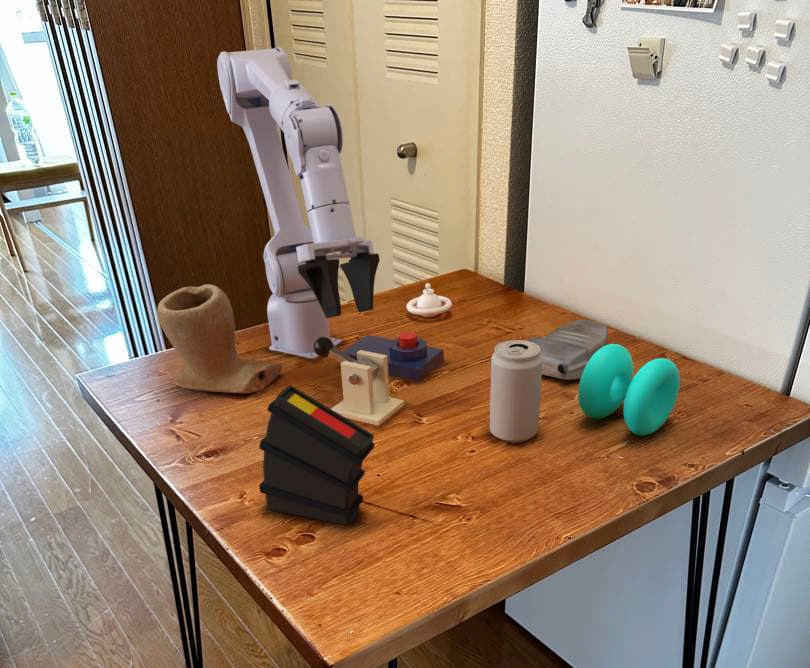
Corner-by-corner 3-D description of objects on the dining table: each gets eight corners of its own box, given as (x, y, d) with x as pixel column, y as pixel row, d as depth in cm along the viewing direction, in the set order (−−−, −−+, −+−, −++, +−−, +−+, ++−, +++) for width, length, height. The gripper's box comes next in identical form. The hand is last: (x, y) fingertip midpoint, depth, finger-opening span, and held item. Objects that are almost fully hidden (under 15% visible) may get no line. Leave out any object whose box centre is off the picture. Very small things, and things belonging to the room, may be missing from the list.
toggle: (307, 354, 111) (311, 337, 109) (319, 346, 113) (323, 330, 111) (365, 388, 109) (370, 372, 107) (376, 380, 111) (381, 364, 109)
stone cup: (158, 398, 119) (134, 299, 110) (201, 365, 128) (182, 271, 119) (248, 411, 115) (230, 308, 106) (286, 376, 123) (273, 279, 115)
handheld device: (626, 342, 129) (629, 314, 126) (572, 390, 116) (575, 360, 113) (571, 330, 134) (573, 303, 131) (513, 376, 121) (515, 347, 118)
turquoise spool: (613, 399, 113) (621, 331, 107) (677, 422, 107) (689, 351, 101) (570, 425, 107) (577, 355, 101) (635, 450, 101) (646, 377, 96)
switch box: (330, 415, 112) (324, 363, 108) (357, 395, 117) (353, 345, 113) (378, 427, 109) (375, 374, 104) (404, 406, 114) (402, 354, 109)
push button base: (341, 366, 126) (338, 342, 123) (368, 348, 131) (366, 324, 129) (418, 383, 120) (417, 358, 117) (443, 363, 125) (443, 338, 123)
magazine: (254, 478, 96) (288, 381, 86) (348, 535, 96) (393, 444, 86) (238, 494, 94) (271, 396, 83) (334, 553, 93) (379, 461, 83)
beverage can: (542, 425, 108) (548, 340, 101) (532, 448, 103) (537, 360, 96) (495, 419, 109) (498, 335, 102) (484, 442, 105) (485, 355, 98)
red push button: (395, 347, 122) (394, 336, 121) (404, 341, 124) (404, 330, 123) (411, 351, 121) (411, 339, 119) (420, 344, 122) (420, 333, 121)
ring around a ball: (443, 325, 138) (458, 308, 144) (442, 292, 134) (457, 277, 140) (400, 322, 140) (416, 306, 146) (398, 289, 137) (414, 275, 143)
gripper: (318, 200, 98) (342, 314, 101) (383, 201, 109) (402, 303, 112) (275, 214, 101) (299, 323, 105) (342, 213, 113) (362, 312, 116)
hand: (350, 314), depth 109 cm, fingers open, 7 cm apart
